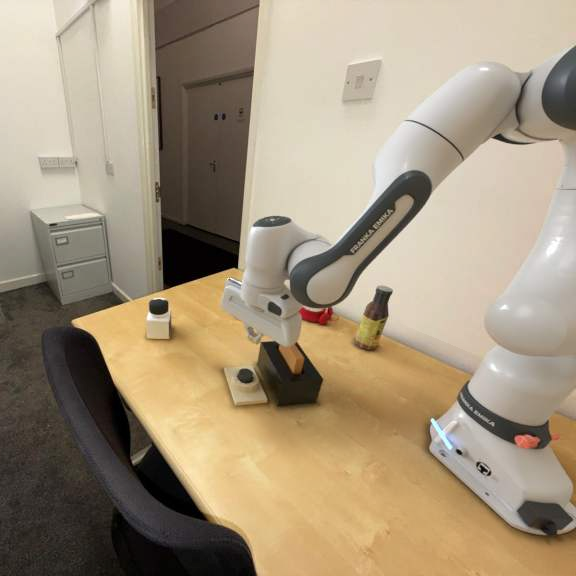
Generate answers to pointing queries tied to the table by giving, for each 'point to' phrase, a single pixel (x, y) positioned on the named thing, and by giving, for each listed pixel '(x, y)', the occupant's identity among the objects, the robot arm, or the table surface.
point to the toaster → (288, 377)
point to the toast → (292, 358)
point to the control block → (244, 387)
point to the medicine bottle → (158, 319)
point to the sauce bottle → (374, 319)
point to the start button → (245, 375)
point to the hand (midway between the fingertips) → (253, 340)
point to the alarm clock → (316, 314)
